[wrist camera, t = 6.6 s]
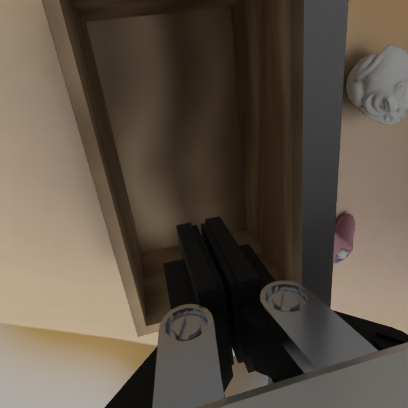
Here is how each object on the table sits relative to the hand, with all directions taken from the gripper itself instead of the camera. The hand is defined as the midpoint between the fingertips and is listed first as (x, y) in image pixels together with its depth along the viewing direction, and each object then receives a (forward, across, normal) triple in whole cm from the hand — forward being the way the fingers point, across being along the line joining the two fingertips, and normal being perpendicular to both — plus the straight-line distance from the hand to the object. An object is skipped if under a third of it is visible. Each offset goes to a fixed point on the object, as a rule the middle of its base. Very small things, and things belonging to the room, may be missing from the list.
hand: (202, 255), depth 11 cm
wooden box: (+21, -2, 0) cm, 21 cm away
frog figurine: (+21, -22, -3) cm, 31 cm away
